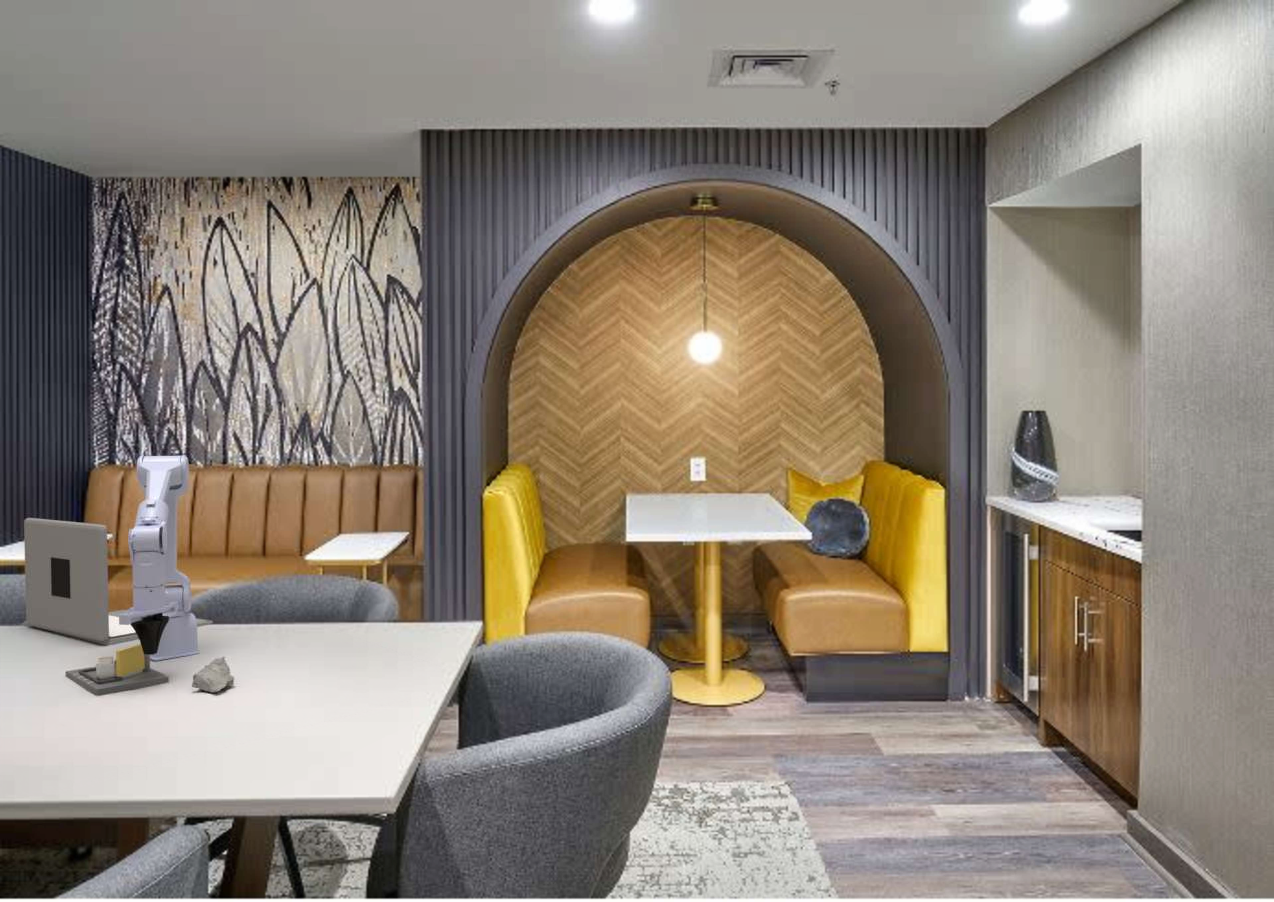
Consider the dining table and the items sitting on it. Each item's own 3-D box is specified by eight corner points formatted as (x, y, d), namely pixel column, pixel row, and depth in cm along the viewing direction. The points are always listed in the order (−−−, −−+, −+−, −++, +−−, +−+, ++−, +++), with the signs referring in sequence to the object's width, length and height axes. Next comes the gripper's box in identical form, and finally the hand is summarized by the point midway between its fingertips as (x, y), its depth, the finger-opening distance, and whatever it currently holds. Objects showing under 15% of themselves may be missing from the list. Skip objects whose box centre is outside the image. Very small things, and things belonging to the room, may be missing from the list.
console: (133, 665, 210) (133, 632, 210) (168, 682, 196) (168, 646, 196) (65, 677, 201) (64, 641, 200) (97, 695, 187) (96, 657, 186)
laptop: (214, 630, 247) (212, 515, 247) (101, 652, 224) (99, 525, 223) (136, 616, 267) (134, 509, 266) (24, 634, 244) (22, 518, 243)
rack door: (144, 668, 199) (144, 643, 199) (120, 676, 193) (119, 651, 193) (136, 667, 200) (136, 643, 200) (111, 675, 193) (111, 650, 193)
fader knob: (111, 676, 195) (111, 655, 195) (115, 678, 194) (115, 657, 194) (96, 679, 193) (95, 657, 193) (100, 681, 192) (99, 659, 192)
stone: (249, 676, 199) (249, 655, 199) (220, 694, 187) (220, 672, 187) (218, 675, 199) (218, 654, 199) (187, 693, 187) (187, 671, 187)
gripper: (156, 579, 203) (157, 644, 204) (104, 591, 189) (106, 661, 189) (186, 580, 202) (187, 646, 202) (136, 592, 188) (138, 663, 188)
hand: (150, 653), depth 196 cm, fingers closed
